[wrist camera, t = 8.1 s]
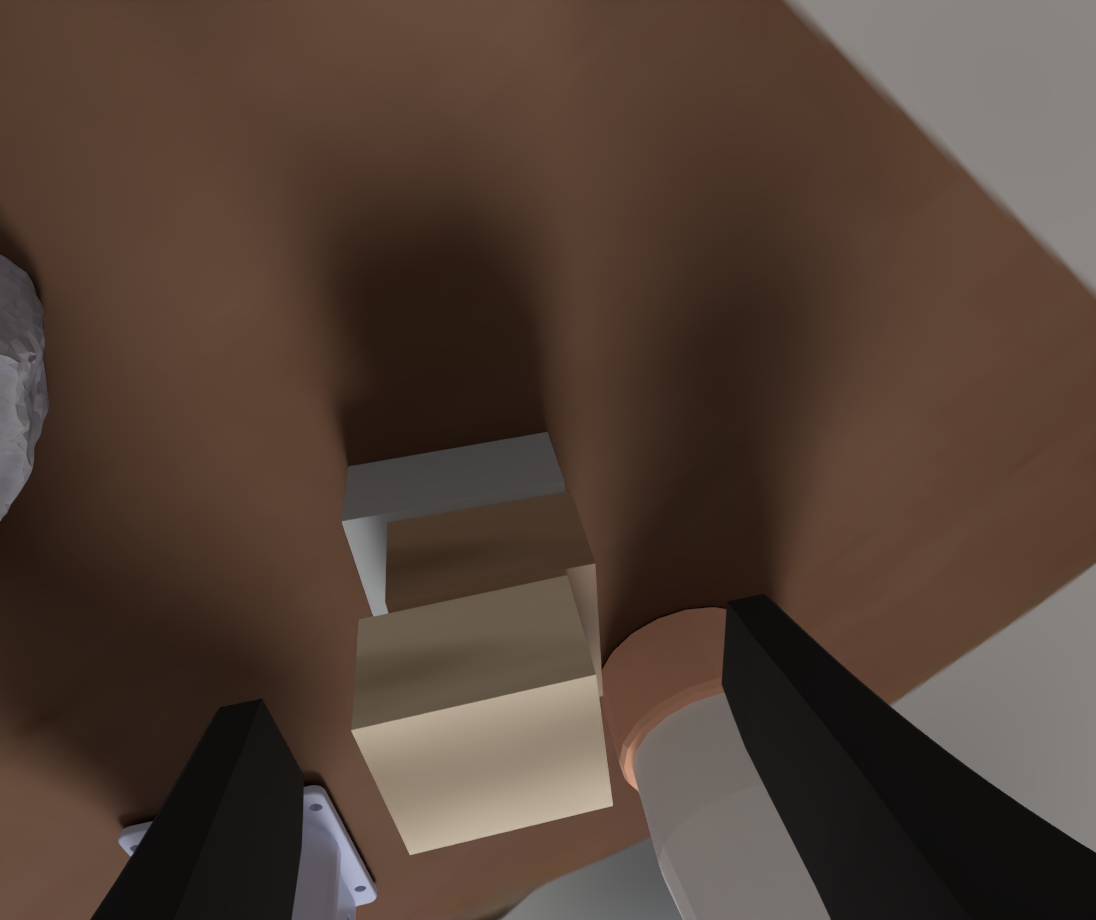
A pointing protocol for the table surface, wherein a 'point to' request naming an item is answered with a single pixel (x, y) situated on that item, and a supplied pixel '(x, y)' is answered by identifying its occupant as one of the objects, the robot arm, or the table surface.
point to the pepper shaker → (700, 776)
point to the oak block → (481, 714)
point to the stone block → (19, 379)
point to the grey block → (438, 493)
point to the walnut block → (493, 556)
